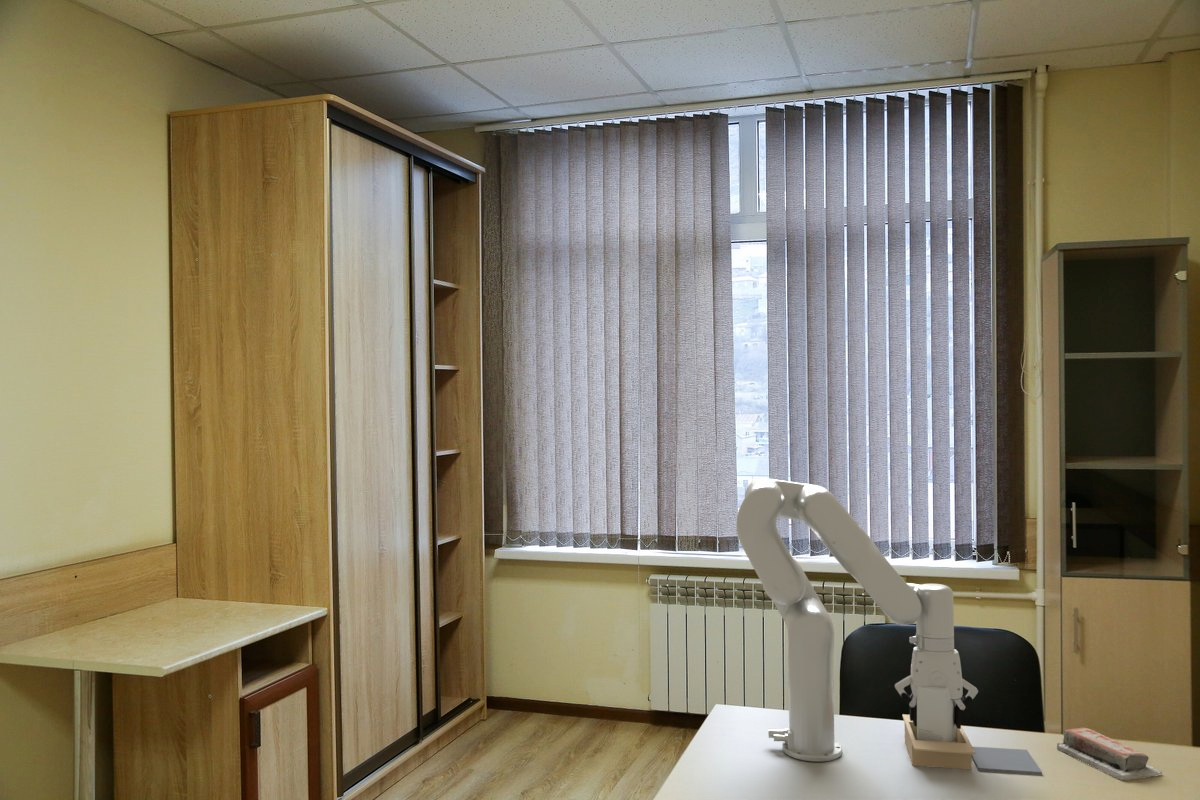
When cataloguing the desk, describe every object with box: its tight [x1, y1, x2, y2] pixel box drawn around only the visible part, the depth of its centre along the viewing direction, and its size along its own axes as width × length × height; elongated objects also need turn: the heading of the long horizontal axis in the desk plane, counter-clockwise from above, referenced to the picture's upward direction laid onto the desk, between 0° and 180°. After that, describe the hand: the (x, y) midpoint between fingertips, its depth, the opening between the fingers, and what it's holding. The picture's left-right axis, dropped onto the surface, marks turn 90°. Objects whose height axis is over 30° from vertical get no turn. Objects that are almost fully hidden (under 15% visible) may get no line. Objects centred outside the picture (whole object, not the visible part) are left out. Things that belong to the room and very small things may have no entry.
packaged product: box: [1056, 726, 1163, 781], centre depth 189 cm, size 18×5×10 cm
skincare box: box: [916, 686, 956, 742], centre depth 194 cm, size 8×7×16 cm
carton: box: [902, 713, 975, 770], centre depth 194 cm, size 12×21×5 cm, turn 168°
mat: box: [971, 746, 1043, 776], centre depth 190 cm, size 12×12×1 cm
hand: (936, 725), depth 194 cm, fingers closed on skincare box, 8 cm apart
